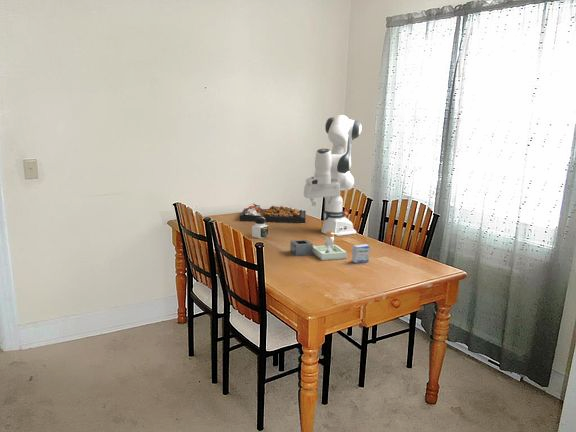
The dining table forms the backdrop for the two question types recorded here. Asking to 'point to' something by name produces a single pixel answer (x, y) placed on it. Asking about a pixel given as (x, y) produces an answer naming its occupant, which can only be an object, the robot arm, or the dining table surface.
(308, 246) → the block
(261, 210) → the food platter
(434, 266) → the dining table surface
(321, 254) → the tray
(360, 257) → the medicine box
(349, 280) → the dining table surface
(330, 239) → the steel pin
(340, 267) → the dining table surface
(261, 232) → the medicine bottle
